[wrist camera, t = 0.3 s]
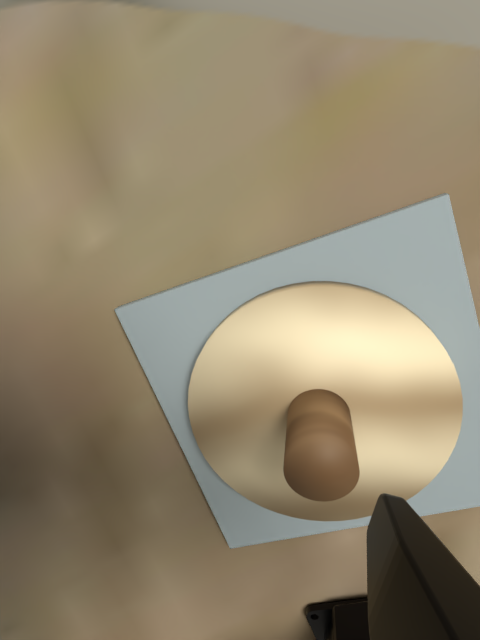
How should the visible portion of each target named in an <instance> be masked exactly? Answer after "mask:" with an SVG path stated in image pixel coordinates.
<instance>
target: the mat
mask: <svg viewBox="0 0 480 640" xmlns="http://www.w3.org/2000/svg"><path fill="white" fill-rule="evenodd" d="M309 281H334V282H342V283H350V284H354V285H358V286H362V287H366V288H369V289H372V290H374V291H377V292H379V293H382V294H384V295H387V296H388V297H390V298H392V299H394V300H396V301H397V302H399V303H401V304H403V305H404V306H405V307H407V308H408V309H409V310H411V311H412V312H413V313H415V314H416V315H417V316H418V317H419V318H420V319H421V320H422V321H423V322H424V323H425V324H426V325H427V326H428V327H429V328H430V329H431V330H432V332H433V333H434V334H435V336H436V337H437V338H438V340H439V341H440V343H441V344H442V345H443V347H444V348H445V350H446V351H447V353H448V355H449V357H450V359H451V361H452V363H453V364H454V366H455V369H456V372H457V375H458V378H459V381H460V386H461V392H462V398H463V416H462V423H461V429H460V433H459V436H458V439H457V442H456V445H455V447H454V449H453V451H452V453H451V455H450V457H449V459H448V461H447V462H446V464H445V465H444V467H443V468H442V469H441V471H440V472H439V473H438V474H437V476H436V477H435V478H434V479H433V480H432V481H431V482H430V483H429V484H428V485H427V486H426V487H424V488H423V489H422V490H421V491H420V492H418V493H417V494H416V495H414V496H413V497H411V498H410V499H408V500H406V501H407V502H408V504H409V505H410V506H411V507H412V508H413V509H414V511H415V512H416V513H417V514H418V515H419V516H426V515H431V514H437V513H443V512H449V511H455V510H461V509H467V508H473V507H479V506H480V329H479V324H478V320H477V316H476V311H475V307H474V303H473V298H472V294H471V289H470V285H469V281H468V276H467V272H466V268H465V263H464V259H463V255H462V250H461V246H460V242H459V237H458V233H457V228H456V224H455V220H454V215H453V211H452V207H451V202H450V198H449V194H447V193H444V194H441V195H438V196H435V197H432V198H429V199H427V200H424V201H421V202H418V203H415V204H412V205H409V206H406V207H403V208H401V209H398V210H395V211H392V212H389V213H386V214H383V215H380V216H378V217H375V218H372V219H369V220H366V221H363V222H360V223H357V224H355V225H352V226H349V227H346V228H343V229H340V230H337V231H334V232H332V233H329V234H326V235H323V236H320V237H317V238H314V239H311V240H308V241H306V242H303V243H300V244H297V245H294V246H291V247H288V248H285V249H283V250H280V251H277V252H274V253H271V254H268V255H265V256H262V257H260V258H257V259H254V260H251V261H248V262H245V263H242V264H239V265H236V266H234V267H231V268H228V269H225V270H222V271H219V272H216V273H213V274H211V275H208V276H205V277H202V278H199V279H196V280H193V281H190V282H188V283H185V284H182V285H179V286H176V287H173V288H170V289H167V290H165V291H162V292H159V293H156V294H153V295H150V296H147V297H144V298H141V299H139V300H136V301H133V302H130V303H127V304H124V305H121V306H118V307H117V308H116V309H115V312H116V314H117V316H118V318H119V320H120V322H121V324H122V327H123V329H124V331H125V333H126V335H127V337H128V339H129V341H130V343H131V345H132V347H133V349H134V351H135V353H136V355H137V357H138V360H139V362H140V364H141V366H142V368H143V370H144V372H145V374H146V376H147V378H148V380H149V382H150V384H151V386H152V388H153V390H154V392H155V395H156V397H157V399H158V401H159V403H160V405H161V407H162V409H163V411H164V413H165V415H166V417H167V419H168V421H169V423H170V425H171V428H172V430H173V432H174V434H175V436H176V438H177V440H178V442H179V444H180V446H181V448H182V450H183V452H184V454H185V456H186V458H187V461H188V463H189V465H190V467H191V469H192V471H193V473H194V475H195V477H196V479H197V481H198V483H199V485H200V487H201V489H202V491H203V493H204V496H205V498H206V500H207V502H208V504H209V506H210V508H211V510H212V512H213V514H214V516H215V518H216V520H217V522H218V524H219V526H220V529H221V531H222V533H223V535H224V537H225V539H226V541H227V543H228V545H229V547H230V549H231V548H237V547H243V546H249V545H255V544H260V543H266V542H272V541H278V540H284V539H290V538H296V537H302V536H308V535H314V534H319V533H325V532H331V531H337V530H343V529H349V528H355V527H361V526H367V525H369V522H370V519H371V516H368V517H363V518H359V519H353V520H345V521H313V520H305V519H299V518H294V517H290V516H286V515H283V514H279V513H276V512H274V511H271V510H269V509H266V508H264V507H261V506H259V505H258V504H256V503H254V502H252V501H250V500H248V499H247V498H245V497H244V496H242V495H241V494H239V493H238V492H236V491H235V490H234V489H233V488H231V487H230V486H229V485H228V484H227V483H226V482H224V481H223V480H222V479H221V477H220V476H219V475H218V474H217V473H216V472H215V471H214V470H213V469H212V467H211V466H210V464H209V463H208V462H207V460H206V459H205V457H204V456H203V454H202V452H201V450H200V448H199V447H198V444H197V442H196V439H195V437H194V434H193V432H192V427H191V423H190V419H189V411H188V390H189V384H190V379H191V374H192V371H193V369H194V366H195V363H196V360H197V358H198V356H199V355H200V353H201V351H202V349H203V347H204V345H205V344H206V342H207V340H208V338H209V337H210V335H211V334H212V333H213V331H214V330H215V329H216V327H217V326H218V325H219V324H220V323H221V322H222V321H223V320H224V319H225V318H226V317H227V316H228V315H229V314H230V313H231V312H232V311H234V310H235V309H236V308H238V307H239V306H240V305H242V304H243V303H245V302H246V301H248V300H250V299H252V298H254V297H255V296H257V295H259V294H262V293H264V292H267V291H269V290H272V289H274V288H277V287H281V286H285V285H289V284H293V283H301V282H309Z"/></svg>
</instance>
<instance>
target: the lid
mask: <svg viewBox="0 0 480 640" xmlns="http://www.w3.org/2000/svg"><path fill="white" fill-rule="evenodd" d="M188 411H189V419H190V423H191V427H192V432H193V434H194V437H195V439H196V442H197V444H198V447H199V448H200V450H201V452H202V454H203V456H204V457H205V459H206V460H207V462H208V463H209V464H210V466H211V467H212V469H213V470H214V471H215V472H216V473H217V474H218V475H219V476H220V477H221V479H222V480H223V481H224V482H226V483H227V484H228V485H229V486H230V487H231V488H233V489H234V490H235V491H236V492H238V493H239V494H241V495H242V496H244V497H245V498H247V499H248V500H250V501H252V502H254V503H256V504H258V505H259V506H261V507H264V508H266V509H269V510H271V511H274V512H276V513H279V514H283V515H286V516H290V517H294V518H299V519H305V520H313V521H345V520H353V519H359V518H363V517H368V516H372V514H373V511H374V508H375V505H376V502H377V500H378V497H379V496H380V494H382V493H387V494H391V495H395V496H399V497H402V498H404V499H405V500H408V499H410V498H411V497H413V496H414V495H416V494H417V493H418V492H420V491H421V490H422V489H423V488H424V487H426V486H427V485H428V484H429V483H430V482H431V481H432V480H433V479H434V478H435V477H436V476H437V474H438V473H439V472H440V471H441V469H442V468H443V467H444V465H445V464H446V462H447V461H448V459H449V457H450V455H451V453H452V451H453V449H454V447H455V445H456V442H457V439H458V436H459V433H460V429H461V423H462V416H463V398H462V392H461V386H460V381H459V378H458V375H457V372H456V369H455V366H454V364H453V363H452V361H451V359H450V357H449V355H448V353H447V351H446V350H445V348H444V347H443V345H442V344H441V343H440V341H439V340H438V338H437V337H436V336H435V334H434V333H433V332H432V330H431V329H430V328H429V327H428V326H427V325H426V324H425V323H424V322H423V321H422V320H421V319H420V318H419V317H418V316H417V315H416V314H415V313H413V312H412V311H411V310H409V309H408V308H407V307H405V306H404V305H403V304H401V303H399V302H397V301H396V300H394V299H392V298H390V297H388V296H387V295H384V294H382V293H379V292H377V291H374V290H372V289H369V288H366V287H362V286H358V285H354V284H350V283H342V282H334V281H309V282H301V283H293V284H289V285H285V286H281V287H277V288H274V289H272V290H269V291H267V292H264V293H262V294H259V295H257V296H255V297H254V298H252V299H250V300H248V301H246V302H245V303H243V304H242V305H240V306H239V307H238V308H236V309H235V310H234V311H232V312H231V313H230V314H229V315H228V316H227V317H226V318H225V319H224V320H223V321H222V322H221V323H220V324H219V325H218V326H217V327H216V329H215V330H214V331H213V333H212V334H211V335H210V337H209V338H208V340H207V342H206V344H205V345H204V347H203V349H202V351H201V353H200V355H199V356H198V358H197V360H196V363H195V366H194V369H193V371H192V374H191V379H190V384H189V390H188Z"/></svg>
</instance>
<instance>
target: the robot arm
mask: <svg viewBox="0 0 480 640" xmlns="http://www.w3.org/2000/svg"><path fill="white" fill-rule="evenodd" d="M367 591H368V598H364V599H356V600H348V601H341V602H333V603H325V604H317V605H311V606H309V607H307V609H306V616H307V620H308V622H309V624H310V626H311V629H312V631H313V633H314V635H315V637H316V640H480V586H479V585H478V584H477V582H476V581H475V580H474V579H473V578H472V577H471V575H470V574H469V573H468V572H467V571H466V570H465V568H464V567H463V566H462V565H461V564H460V563H459V562H458V560H457V559H456V558H455V557H454V556H453V555H452V553H451V552H450V551H449V550H448V549H447V548H446V546H445V545H444V544H443V543H442V542H441V541H440V540H439V538H438V537H437V536H436V535H435V534H434V533H433V531H432V530H431V529H430V528H429V527H428V526H427V524H426V523H425V522H424V521H423V520H422V519H421V518H420V516H419V515H418V514H417V513H416V512H415V511H414V509H413V508H412V507H411V506H410V505H409V504H408V502H407V501H406V500H405V499H404V498H402V497H399V496H395V495H391V494H387V493H382V494H380V496H379V497H378V500H377V502H376V505H375V508H374V511H373V514H372V516H371V519H370V522H369V525H368V529H367Z"/></svg>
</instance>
